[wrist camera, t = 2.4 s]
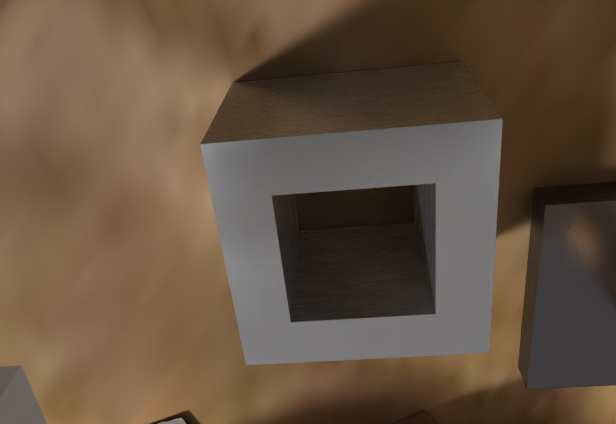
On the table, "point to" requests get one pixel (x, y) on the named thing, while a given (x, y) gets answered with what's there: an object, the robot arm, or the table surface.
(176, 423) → the condiment
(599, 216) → the keeper
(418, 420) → the link
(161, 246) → the table surface
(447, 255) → the grey hollow block
